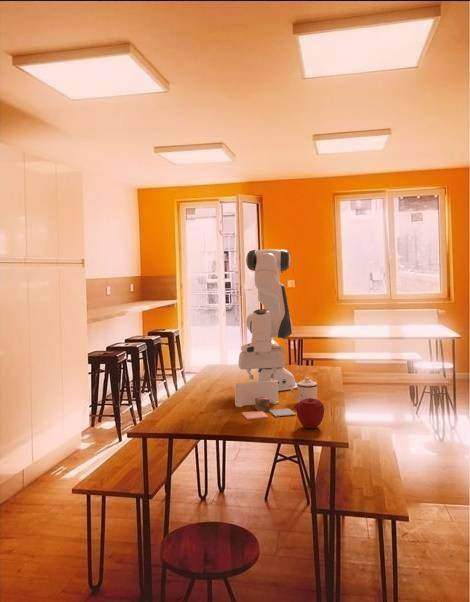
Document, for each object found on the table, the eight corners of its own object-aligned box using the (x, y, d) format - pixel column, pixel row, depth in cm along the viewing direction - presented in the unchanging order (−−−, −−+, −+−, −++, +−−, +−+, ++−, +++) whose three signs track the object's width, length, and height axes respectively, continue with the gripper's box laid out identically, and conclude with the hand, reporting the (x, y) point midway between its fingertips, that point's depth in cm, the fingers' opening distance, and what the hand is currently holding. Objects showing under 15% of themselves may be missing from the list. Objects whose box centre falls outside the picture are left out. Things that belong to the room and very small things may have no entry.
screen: (276, 400, 239) (275, 379, 239) (279, 403, 234) (279, 381, 234) (234, 404, 235) (233, 382, 234) (236, 407, 230) (236, 385, 229)
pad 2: (288, 409, 224) (288, 408, 224) (295, 415, 215) (295, 413, 215) (268, 411, 222) (268, 410, 222) (275, 417, 213) (275, 415, 213)
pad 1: (262, 412, 221) (262, 410, 221) (268, 417, 212) (268, 416, 212) (241, 413, 219) (241, 412, 219) (247, 419, 210) (247, 418, 210)
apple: (299, 422, 205) (298, 393, 204) (326, 424, 202) (325, 394, 201) (294, 430, 195) (293, 400, 194) (322, 432, 192) (322, 401, 191)
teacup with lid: (317, 400, 238) (317, 375, 237) (317, 405, 229) (317, 380, 228) (291, 400, 240) (291, 375, 239) (290, 405, 231) (290, 379, 230)
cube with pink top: (266, 407, 229) (266, 396, 229) (269, 410, 224) (269, 399, 224) (255, 408, 228) (255, 397, 227) (258, 411, 223) (258, 400, 222)
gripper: (282, 345, 229) (282, 375, 230) (237, 346, 225) (237, 378, 225) (286, 346, 223) (286, 378, 224) (240, 348, 219) (241, 381, 219)
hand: (261, 378), depth 225 cm, fingers open, 8 cm apart
